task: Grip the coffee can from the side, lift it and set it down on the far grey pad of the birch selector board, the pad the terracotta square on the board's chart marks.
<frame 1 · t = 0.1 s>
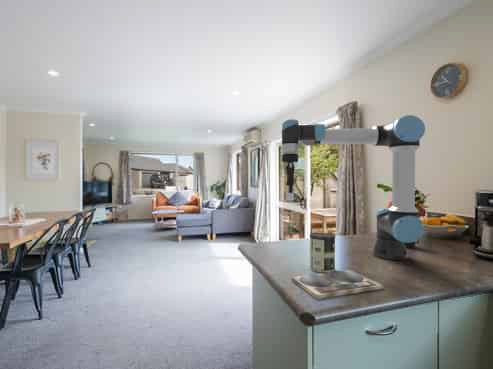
hand: (290, 199, 121), 28 cm above the worktop, tool pointing down, fingers open, 13 cm apart
coffee can: (322, 268, 109), on the worktop
french press: (407, 246, 148), on the worktop
selector board: (335, 284, 92), on the worktop
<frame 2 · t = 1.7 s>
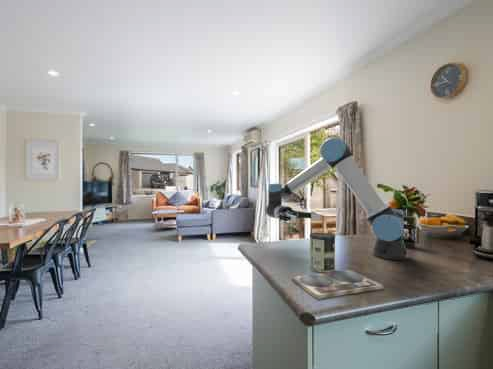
hand: (308, 218, 118), 20 cm above the worktop, tool horizontal, fingers open, 13 cm apart
nothing on the worktop moved.
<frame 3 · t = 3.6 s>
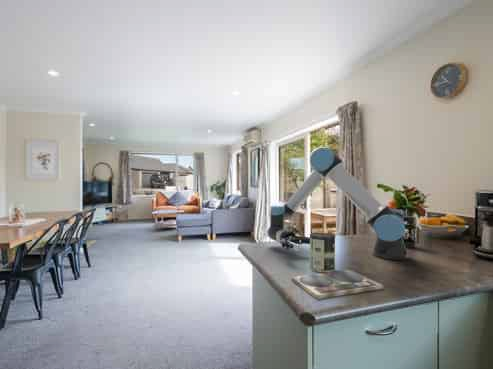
hand: (311, 246, 115), 7 cm above the worktop, tool horizontal, fingers open, 13 cm apart
nothing on the worktop moved.
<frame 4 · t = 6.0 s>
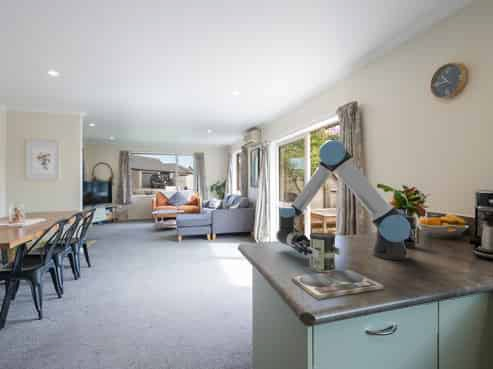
hand: (329, 252, 105), 8 cm above the worktop, tool horizontal, fingers closed on coffee can, 10 cm apart
coffee can: (322, 268, 109), on the worktop, touching gripper
everything else where it was.
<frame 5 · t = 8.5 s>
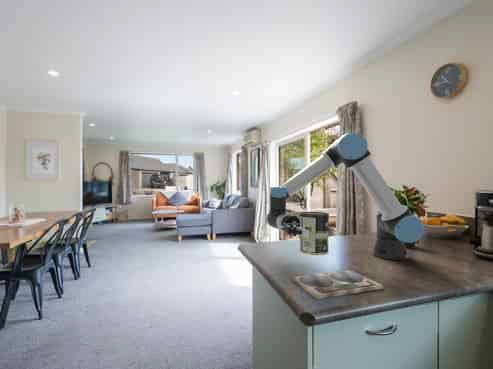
hand: (321, 233, 91), 18 cm above the worktop, tool horizontal, fingers closed on coffee can, 10 cm apart
coffee can: (313, 252, 95), point 11 cm above the worktop, touching gripper
everything else where it was.
when the fingers open (10 cm above the worktop, at t = 11.1 s): coffee can drops 1 cm, resting on selector board.
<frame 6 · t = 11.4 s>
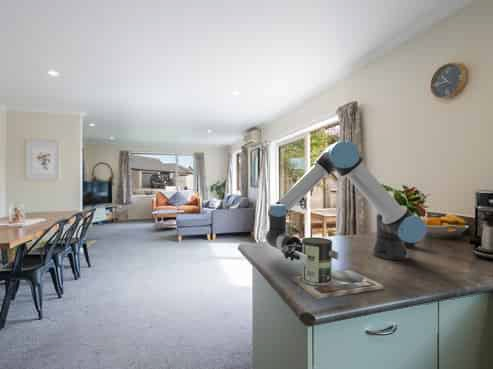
hand: (322, 257, 89), 10 cm above the worktop, tool horizontal, fingers open, 13 cm apart
coffee can: (316, 280, 92), point 1 cm above the worktop, touching selector board
everything else where it was.
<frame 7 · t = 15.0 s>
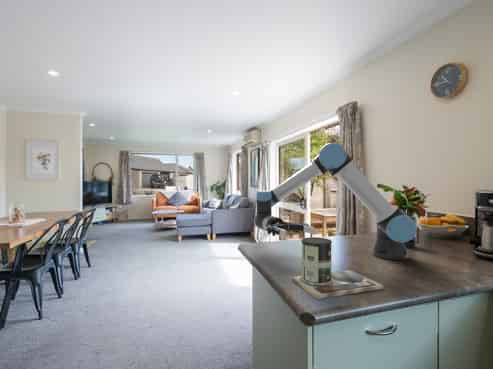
hand: (299, 232, 103), 16 cm above the worktop, tool horizontal, fingers open, 13 cm apart
nothing on the worktop moved.
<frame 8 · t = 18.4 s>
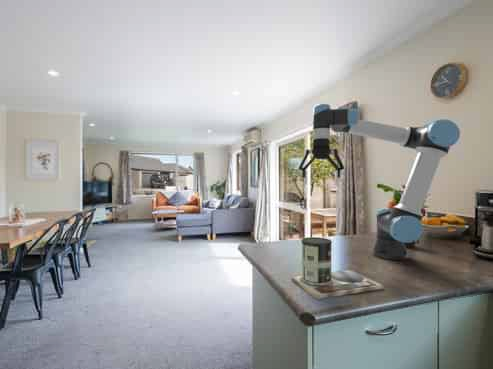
hand: (320, 185, 120), 35 cm above the worktop, tool pointing down, fingers open, 13 cm apart
nothing on the worktop moved.
at the end: coffee can 0.2 cm from the target spot on the selector board, point 1.2 cm above the selector board's base; coffee can tilted 1°; the gripper is holding nothing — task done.
